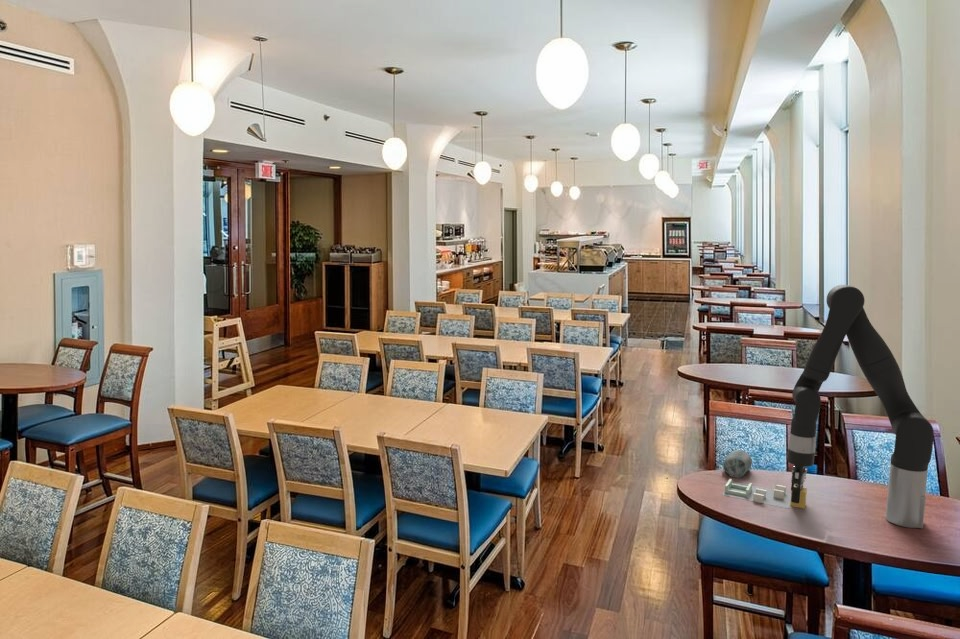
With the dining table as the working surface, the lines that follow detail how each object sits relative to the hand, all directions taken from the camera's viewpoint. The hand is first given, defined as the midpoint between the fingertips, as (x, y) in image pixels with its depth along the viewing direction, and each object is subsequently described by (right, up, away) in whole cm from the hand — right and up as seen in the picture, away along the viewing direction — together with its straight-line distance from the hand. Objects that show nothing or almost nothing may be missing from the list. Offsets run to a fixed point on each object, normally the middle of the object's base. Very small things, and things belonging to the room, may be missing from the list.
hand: (796, 497), depth 201 cm
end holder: (-14, -1, +10) cm, 18 cm away
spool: (-7, 0, +29) cm, 30 cm away
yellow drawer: (0, -3, 0) cm, 3 cm away
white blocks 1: (-10, -2, +4) cm, 11 cm away
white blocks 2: (-2, -1, +7) cm, 8 cm away
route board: (-9, -2, +8) cm, 12 cm away
